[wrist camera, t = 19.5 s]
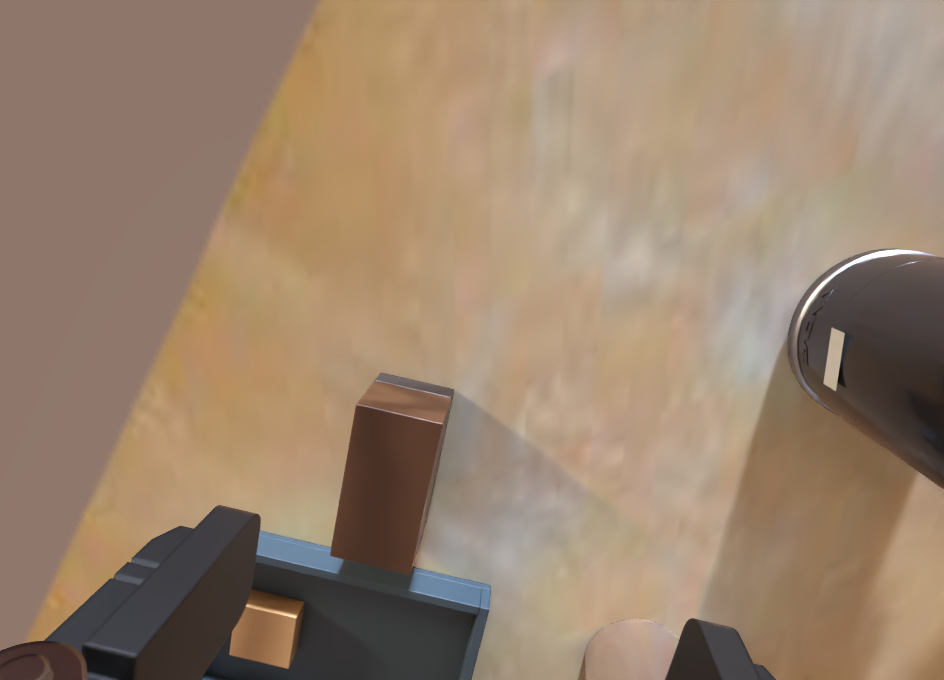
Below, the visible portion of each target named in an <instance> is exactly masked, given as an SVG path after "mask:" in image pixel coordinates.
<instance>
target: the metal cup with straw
mask: <svg viewBox="0 0 944 680" xmlns="http://www.w3.org/2000/svg"><path fill="white" fill-rule="evenodd" d="M678 642H679V639H678V638H677V637H676V636H675V635H674V634H673V633H672V632H671V631H670V630H669V629H667V628H666V627H664V626H663V625H661V624H658V623H656V622H653V621H650V620H645V619H624V620H620V621H616V622H613V623H611V624H609V625H607V626H605V627H604V628H602V629H601V630H600V631H598V632H597V633H596V634H595V635H594V637H593V638H592V639H591V641H590V642H589V644H588V647H587V649H586V653H585V668H586V680H665V678H666V676H667V673H668V670H669V667H670V665H671V662H672V659H673V656H674V653H675V651H676V648H677V645H678Z"/></svg>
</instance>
